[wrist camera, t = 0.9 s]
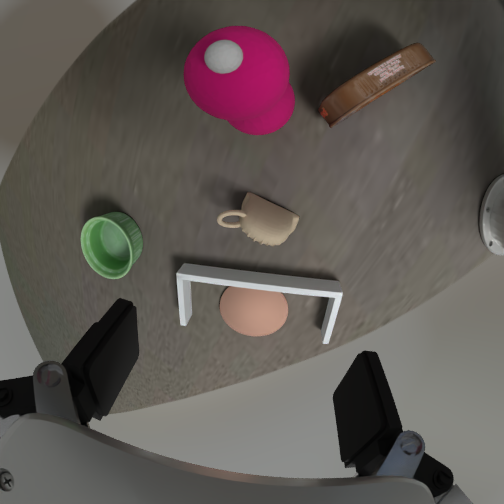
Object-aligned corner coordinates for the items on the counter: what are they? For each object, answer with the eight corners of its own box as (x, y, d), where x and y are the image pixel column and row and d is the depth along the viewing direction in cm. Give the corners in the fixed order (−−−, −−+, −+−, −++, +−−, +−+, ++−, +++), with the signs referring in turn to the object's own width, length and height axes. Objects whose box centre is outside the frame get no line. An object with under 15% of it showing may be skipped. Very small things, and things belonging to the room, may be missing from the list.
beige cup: (284, 244, 34) (283, 263, 29) (223, 214, 33) (212, 227, 28) (300, 217, 32) (303, 231, 27) (237, 184, 32) (228, 193, 27)
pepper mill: (252, 147, 30) (197, 159, 11) (217, 99, 28) (121, 53, 9) (306, 114, 27) (338, 72, 9) (269, 65, 25) (242, -30, 7)
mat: (292, 283, 36) (292, 284, 35) (283, 338, 39) (283, 339, 39) (220, 274, 36) (219, 276, 36) (220, 330, 40) (219, 331, 40)
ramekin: (88, 222, 36) (71, 232, 32) (128, 197, 34) (110, 205, 30) (116, 272, 39) (101, 286, 35) (157, 254, 37) (143, 267, 33)
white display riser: (339, 281, 35) (342, 292, 32) (326, 330, 38) (328, 343, 35) (184, 262, 36) (176, 273, 34) (187, 313, 40) (180, 324, 37)
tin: (326, 131, 28) (340, 128, 20) (309, 109, 27) (317, 98, 19) (417, 73, 23) (451, 59, 15) (402, 53, 22) (432, 33, 14)
